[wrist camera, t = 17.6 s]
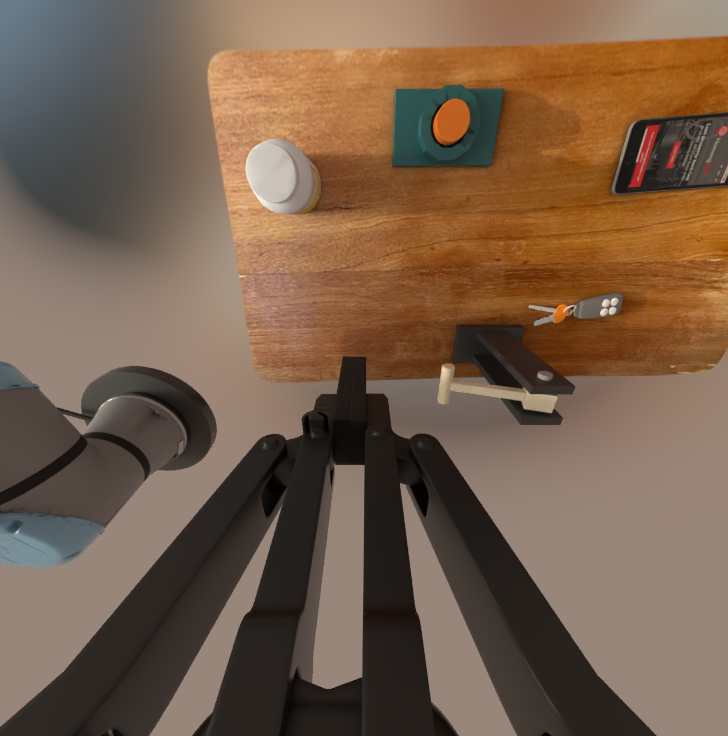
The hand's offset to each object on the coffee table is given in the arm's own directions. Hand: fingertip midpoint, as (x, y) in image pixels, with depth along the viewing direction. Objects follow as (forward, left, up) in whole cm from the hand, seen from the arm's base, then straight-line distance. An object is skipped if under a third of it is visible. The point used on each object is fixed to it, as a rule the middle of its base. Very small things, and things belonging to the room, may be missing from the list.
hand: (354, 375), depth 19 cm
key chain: (+32, -3, -27) cm, 42 cm away
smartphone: (+39, +16, -26) cm, 50 cm away
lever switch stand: (+20, -8, -26) cm, 34 cm away
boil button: (+10, +19, -24) cm, 32 cm away
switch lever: (+16, -8, -13) cm, 22 cm away
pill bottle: (-8, +13, -27) cm, 31 cm away
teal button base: (+10, +18, -26) cm, 34 cm away
